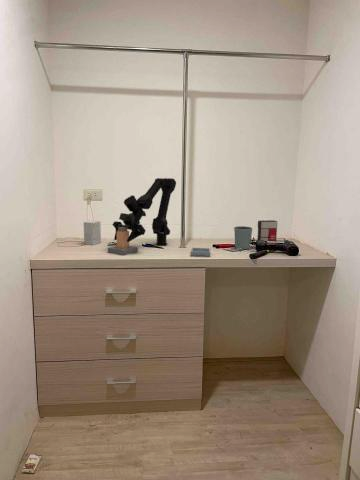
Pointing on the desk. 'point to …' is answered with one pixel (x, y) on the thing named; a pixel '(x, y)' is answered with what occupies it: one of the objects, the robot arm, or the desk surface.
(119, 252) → the socket block
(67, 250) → the desk surface
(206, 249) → the tray
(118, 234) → the plug
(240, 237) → the blue-grey cup
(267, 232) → the grey upright box
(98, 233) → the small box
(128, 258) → the desk surface
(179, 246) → the desk surface
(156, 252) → the desk surface
